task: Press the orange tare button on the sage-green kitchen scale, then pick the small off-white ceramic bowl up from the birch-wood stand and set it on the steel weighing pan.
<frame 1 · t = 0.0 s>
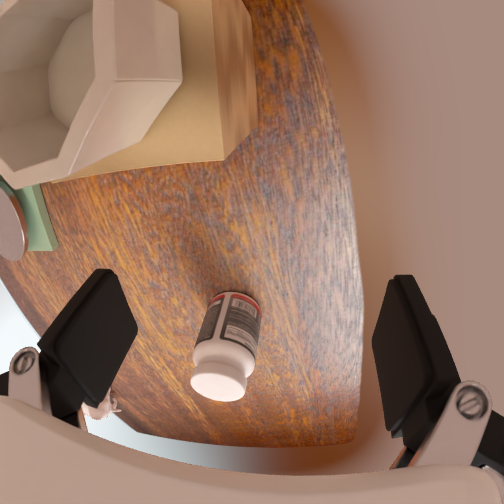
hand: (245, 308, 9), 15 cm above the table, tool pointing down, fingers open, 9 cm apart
scale pan: (18, 209, 27), resting on scale
stand: (196, 75, 18), on the table
scale: (13, 191, 26), on the table
pill bottle: (235, 308, 30), on the table
elephant figurine: (101, 384, 48), on the table
bowl: (104, 68, 8), point 12 cm above the table, touching stand
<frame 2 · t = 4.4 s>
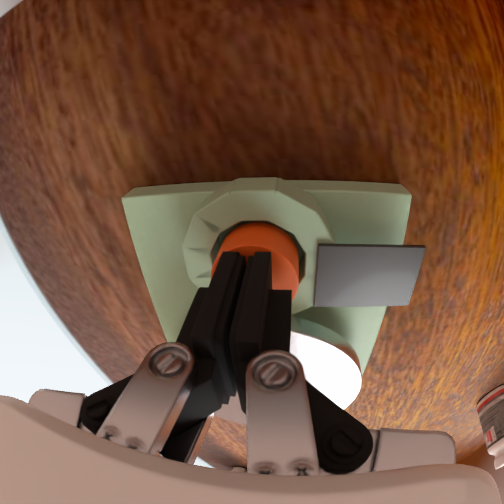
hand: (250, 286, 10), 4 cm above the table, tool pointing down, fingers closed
scale pan: (269, 340, 18), resting on scale
scale: (268, 313, 17), on the table
pill bottle: (494, 393, 21), on the table
tare button: (256, 269, 11), point 3 cm above the table, slide at -0.1 cm, touching gripper
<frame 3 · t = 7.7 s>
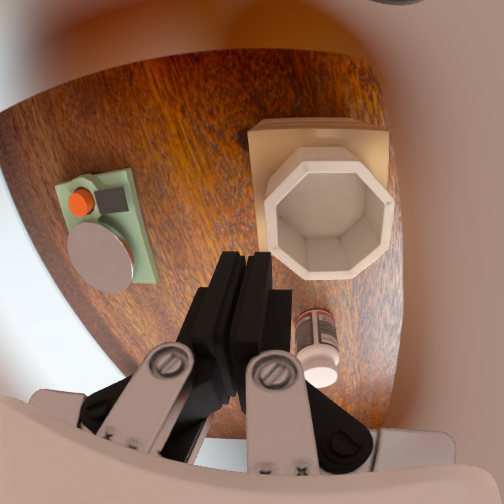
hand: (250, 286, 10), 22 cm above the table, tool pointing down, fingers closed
scale pan: (111, 245, 37), resting on scale
stand: (309, 159, 28), on the table
scale: (106, 229, 36), on the table
pill bottle: (314, 321, 40), on the table
tare button: (81, 202, 30), point 3 cm above the table, slide at 0.1 cm
bowl: (322, 196, 18), point 12 cm above the table, touching stand
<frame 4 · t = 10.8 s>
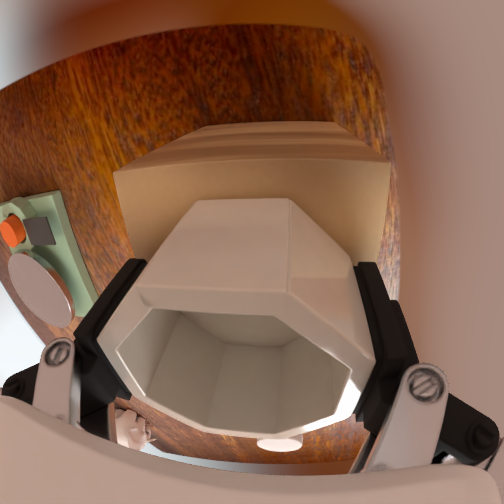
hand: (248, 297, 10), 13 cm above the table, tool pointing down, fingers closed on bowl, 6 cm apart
scale pan: (54, 273, 29), resting on scale
stand: (271, 181, 20), on the table
scale: (47, 256, 28), on the table
pill bottle: (284, 370, 32), on the table
tare button: (13, 230, 22), point 3 cm above the table, slide at 0.1 cm
elephant figurine: (135, 416, 50), on the table
bowl: (251, 284, 10), point 12 cm above the table, touching gripper, stand
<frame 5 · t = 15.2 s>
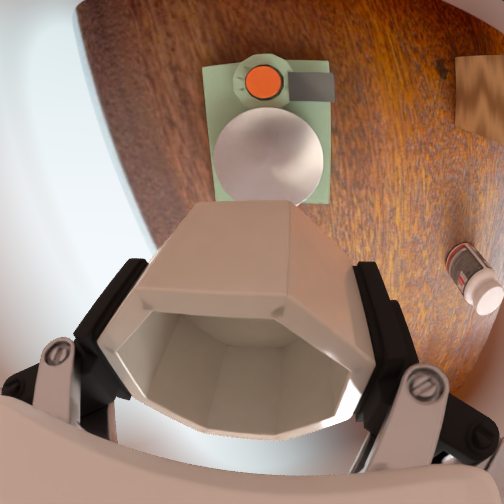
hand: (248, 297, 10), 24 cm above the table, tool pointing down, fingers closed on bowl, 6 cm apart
scale pan: (270, 153, 30), resting on scale
stand: (482, 99, 22), on the table
scale: (269, 131, 29), on the table
pill bottle: (459, 257, 34), on the table
tare button: (263, 82, 23), point 3 cm above the table, slide at 0.1 cm
bowl: (251, 285, 10), point 23 cm above the table, touching gripper
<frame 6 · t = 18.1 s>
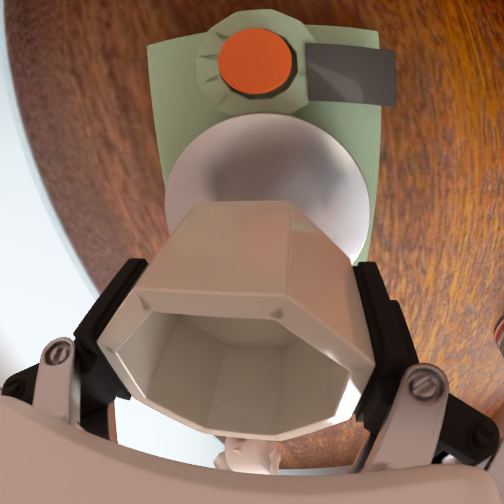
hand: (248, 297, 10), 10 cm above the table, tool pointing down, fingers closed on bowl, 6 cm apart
scale pan: (270, 194, 18), resting on scale
scale: (268, 156, 17), on the table
tare button: (256, 62, 11), point 3 cm above the table, slide at 0.1 cm
elephant figurine: (256, 433, 39), on the table
bowl: (250, 285, 10), point 9 cm above the table, touching gripper
when the fingers open (5 cm above the table, at t = 19.9 s): bowl stays where it is, resting on scale pan.
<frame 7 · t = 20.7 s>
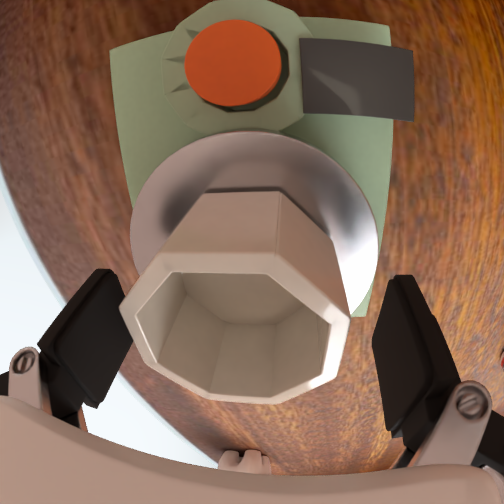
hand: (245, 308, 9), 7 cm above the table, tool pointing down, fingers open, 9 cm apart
scale pan: (258, 224, 15), resting on scale
scale: (255, 179, 14), on the table
tare button: (235, 64, 8), point 3 cm above the table, slide at 0.1 cm
elephant figurine: (250, 455, 36), on the table
bowl: (248, 266, 12), point 4 cm above the table, touching scale pan
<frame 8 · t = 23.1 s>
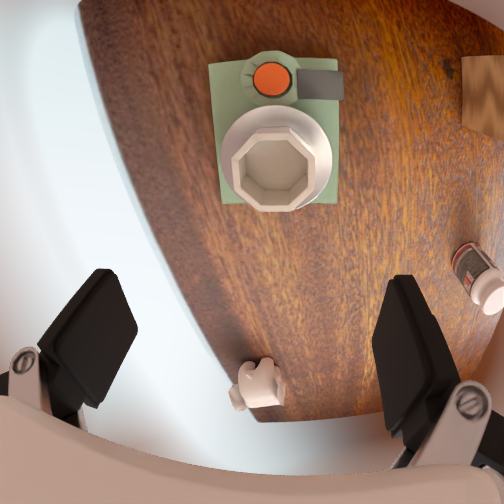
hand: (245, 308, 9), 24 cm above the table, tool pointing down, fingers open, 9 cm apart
scale pan: (277, 152, 30), resting on scale
stand: (488, 99, 21), on the table
scale: (276, 130, 28), on the table
pill bottle: (465, 257, 33), on the table
tare button: (272, 79, 23), point 3 cm above the table, slide at 0.1 cm
elephant figurine: (264, 368, 50), on the table
bowl: (276, 161, 26), point 4 cm above the table, touching scale pan
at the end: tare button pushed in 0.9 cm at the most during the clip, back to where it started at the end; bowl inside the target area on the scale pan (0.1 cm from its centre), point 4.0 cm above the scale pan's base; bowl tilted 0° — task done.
